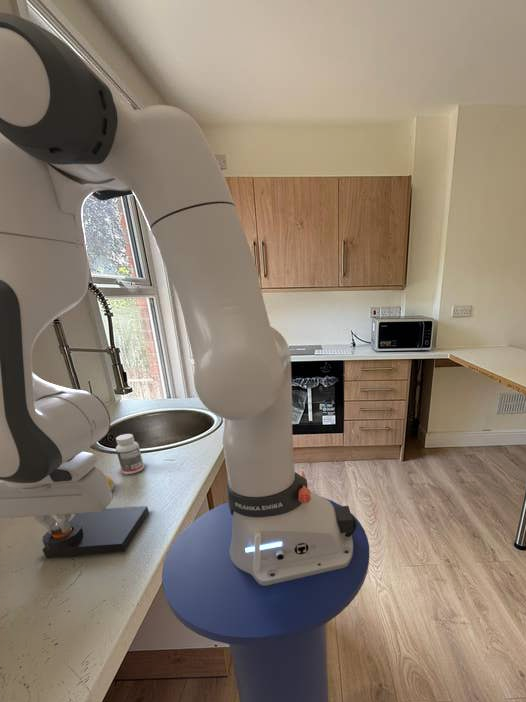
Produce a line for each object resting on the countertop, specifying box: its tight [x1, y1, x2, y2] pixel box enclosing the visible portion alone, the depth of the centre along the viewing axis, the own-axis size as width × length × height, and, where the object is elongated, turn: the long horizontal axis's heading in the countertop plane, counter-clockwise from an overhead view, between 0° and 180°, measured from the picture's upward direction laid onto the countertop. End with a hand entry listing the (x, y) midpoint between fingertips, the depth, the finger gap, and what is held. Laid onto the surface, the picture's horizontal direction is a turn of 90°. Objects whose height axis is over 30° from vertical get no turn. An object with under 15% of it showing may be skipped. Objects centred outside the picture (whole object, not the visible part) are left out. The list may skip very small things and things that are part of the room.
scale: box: [42, 505, 150, 558], centre depth 69 cm, size 14×12×4 cm
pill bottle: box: [115, 433, 145, 475], centre depth 92 cm, size 5×5×10 cm
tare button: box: [52, 528, 72, 539], centre depth 65 cm, size 3×3×2 cm
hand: (60, 531), depth 65 cm, fingers closed, pressing on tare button
